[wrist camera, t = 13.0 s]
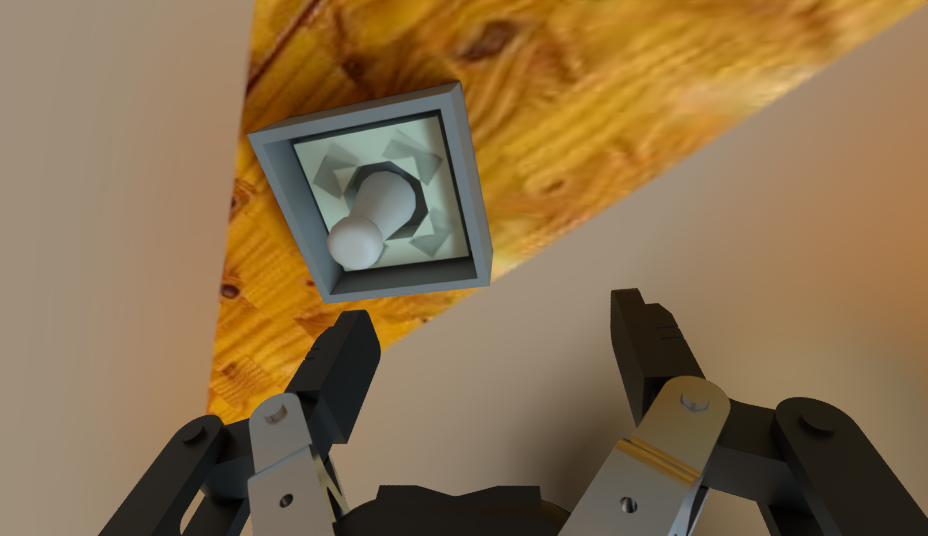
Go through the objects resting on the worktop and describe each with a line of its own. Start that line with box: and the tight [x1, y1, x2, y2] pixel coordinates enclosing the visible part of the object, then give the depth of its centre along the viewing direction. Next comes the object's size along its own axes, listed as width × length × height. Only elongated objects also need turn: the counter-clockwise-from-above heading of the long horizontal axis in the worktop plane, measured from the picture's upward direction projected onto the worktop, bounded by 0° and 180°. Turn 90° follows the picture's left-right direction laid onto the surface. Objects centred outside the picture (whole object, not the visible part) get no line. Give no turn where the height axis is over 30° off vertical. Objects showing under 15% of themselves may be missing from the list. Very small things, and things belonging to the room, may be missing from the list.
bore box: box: [247, 81, 493, 304], centre depth 40 cm, size 18×18×7 cm
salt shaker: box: [327, 171, 416, 270], centre depth 37 cm, size 6×6×13 cm
